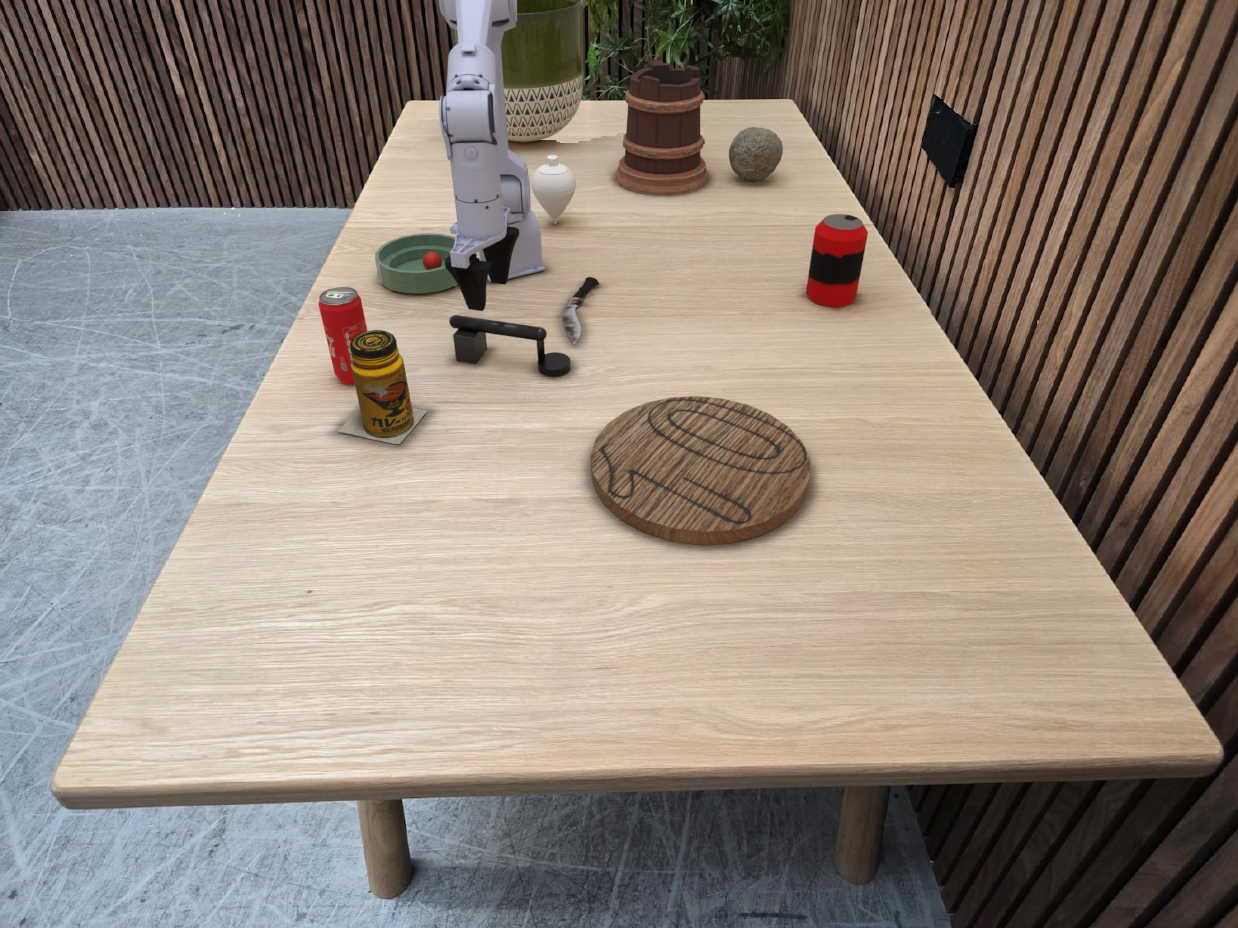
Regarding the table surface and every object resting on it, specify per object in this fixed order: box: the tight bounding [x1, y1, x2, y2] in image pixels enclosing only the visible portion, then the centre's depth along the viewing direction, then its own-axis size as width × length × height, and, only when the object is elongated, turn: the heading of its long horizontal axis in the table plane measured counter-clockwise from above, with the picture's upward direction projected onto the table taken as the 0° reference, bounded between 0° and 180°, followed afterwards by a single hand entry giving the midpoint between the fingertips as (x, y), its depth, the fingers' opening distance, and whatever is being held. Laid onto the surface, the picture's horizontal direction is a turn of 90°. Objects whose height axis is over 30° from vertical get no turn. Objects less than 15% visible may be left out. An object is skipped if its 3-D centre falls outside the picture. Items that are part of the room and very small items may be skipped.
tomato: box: [423, 252, 442, 270], centre depth 141 cm, size 3×3×3 cm
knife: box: [561, 276, 600, 346], centre depth 132 cm, size 18×1×5 cm
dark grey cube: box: [452, 329, 488, 365], centre depth 121 cm, size 3×4×4 cm
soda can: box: [805, 213, 869, 308], centre depth 132 cm, size 8×8×12 cm
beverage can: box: [318, 286, 368, 386], centre depth 115 cm, size 5×5×12 cm
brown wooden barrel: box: [615, 59, 710, 196], centre depth 170 cm, size 18×23×20 cm
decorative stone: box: [728, 126, 784, 183], centre depth 171 cm, size 10×8×10 cm
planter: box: [452, 0, 585, 143], centre depth 186 cm, size 27×27×27 cm
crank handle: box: [448, 314, 572, 378], centre depth 119 cm, size 17×4×6 cm, turn 74°
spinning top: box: [530, 154, 577, 225], centre depth 154 cm, size 8×8×12 cm
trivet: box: [590, 395, 811, 546], centre depth 102 cm, size 25×25×2 cm
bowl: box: [374, 232, 458, 294], centre depth 140 cm, size 14×14×4 cm
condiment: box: [337, 329, 428, 445], centre depth 106 cm, size 7×8×12 cm
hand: (488, 295), depth 116 cm, fingers open, 7 cm apart
